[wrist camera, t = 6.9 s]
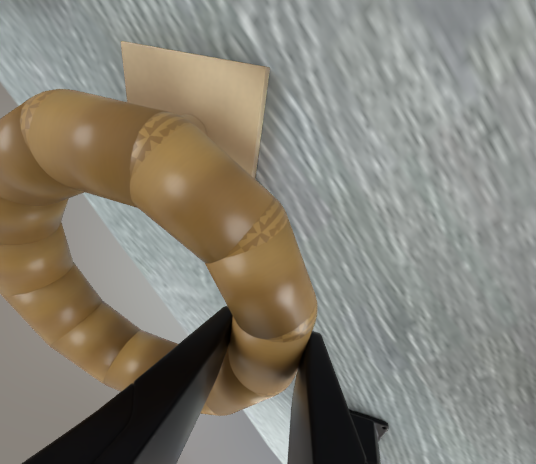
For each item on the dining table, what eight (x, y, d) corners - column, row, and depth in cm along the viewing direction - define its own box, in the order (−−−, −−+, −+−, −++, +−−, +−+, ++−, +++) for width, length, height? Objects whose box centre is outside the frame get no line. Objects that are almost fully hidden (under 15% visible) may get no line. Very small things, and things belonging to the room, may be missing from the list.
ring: (280, 402, 12) (266, 464, 10) (67, 319, 14) (20, 359, 12) (372, 147, 6) (379, 180, 4) (-28, 58, 8) (-154, 52, 6)
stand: (252, 203, 21) (208, 266, 14) (145, 177, 22) (54, 224, 15) (270, 67, 16) (218, 59, 9) (133, 42, 17) (-8, 18, 10)
